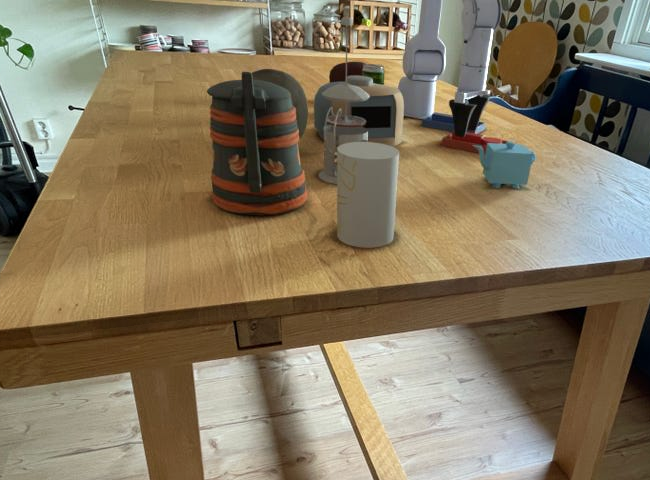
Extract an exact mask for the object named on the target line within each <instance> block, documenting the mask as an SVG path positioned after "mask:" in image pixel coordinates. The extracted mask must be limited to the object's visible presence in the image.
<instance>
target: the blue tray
mask: <svg viewBox="0 0 650 480" xmlns="http://www.w3.org/2000/svg"><path fill="white" fill-rule="evenodd" d="M486 125H487V122H483V121H479V124H478V127H477V129H476V131H473V130H468V129H467V132H470V133H475V134H480V133H481V132H483V131H485V130H486ZM421 127H426V128H430V129H436V130H442V131H447V132H451V133H452V132H453V131H454V124H449V123H444V122H438V121H432V115H431V116H428V117H426V118H424V119H421Z"/></svg>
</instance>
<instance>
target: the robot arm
mask: <svg viewBox="0 0 650 480" xmlns="http://www.w3.org/2000/svg"><path fill="white" fill-rule="evenodd" d="M461 1H462V5H463V6H462V11H461V25H462V27H461V28H462V29H461V38H462V39H463V44H462V54H461V62H460V71H459V78H458V86H457V87H456V91H455V93H454V99H453V98H452V99H450V100H448V106H449V109H450V111H451V115H453V121H454V132H455V136H458V137H465V135H466V132H467V129H468V130H473V131H476V129H477V127H478V124H479V122H481V121H480V120H481V118H482V115H483V113H484V111H485V108H486V107H487V105H488V103H489V102H490V100H491V96H489V95H490V94H491V90H490V89H487V78H488V70H489V63H490V57H491V51H492V50H491V49H492V43H493V36H494V31H496V30H497V29H498V27H499V25H500V23H501V18H502V14H503V13H502V12H503V11H502V2H501V0H461ZM420 3H421V4H420V10H419V12H420V13H419V23H418V31H417V33H416V34H415V35H414V36H412V37H411V38H409V39H408V40H407V41H406V43H405V48H404V52H403V56H402V71H403V74H404V76H402V77H401V78H400V79H399V82H398V85H397V88H398V90H399V91H400V92H401V94H402V97H403V100H404V114H403V117H407V118H413V119H419V120H422V119H424V118H426V117H428V116H431V115H432V114H433V113H435V112H434V111H435V102H436V101H435V100H436V91H437V90H436V89H437V82H438V81H440V78H441V77H442V76H443V74H444V72H445V70H446V62H447V59H446V50H447V49H446V45H445V44H444V42H443V40H441V39H440V37H439V31H440V23H441V15H442V8H443V0H421V1H420Z"/></svg>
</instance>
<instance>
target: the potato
mask: <svg viewBox="0 0 650 480" xmlns="http://www.w3.org/2000/svg"><path fill="white" fill-rule="evenodd" d="M365 64H366V62H363V61H347V76H362V69H363V67H364V66H363V65H365ZM345 78H346V61H345V62H340V63H338V64H335V65H334V66H332V68H331V69H330V70H329V75H328V79H329V82H328V83H331V82H345Z"/></svg>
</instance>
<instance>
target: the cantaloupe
mask: <svg viewBox="0 0 650 480" xmlns="http://www.w3.org/2000/svg"><path fill="white" fill-rule="evenodd" d="M251 73H252V78H253V80H261V81H266V82H270V83H273V84H276V85H278V86H281V87H283V88H285V89H286V90H288V91H289V92H290V93H291V99H292V105H293V106H294V107H295V109H296V112H295V113H296V120H297V126H298V130H299V133H298V135H299V141H300V140H301V138H302V136H303V135H304V133H305V132H306V129H307V126H308V120H309V105H308V100H307V97H306V96H307V95H306V93H305V90H304V88H303V86H302V85H301V83H300V82H299V81H298V80H297V79H296V78H295V77H294V76H293V75H291V74H289V73H288V72H285V71H282V70H278V69H273V68H262V69H258V70H255V71H252V72H251Z"/></svg>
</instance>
